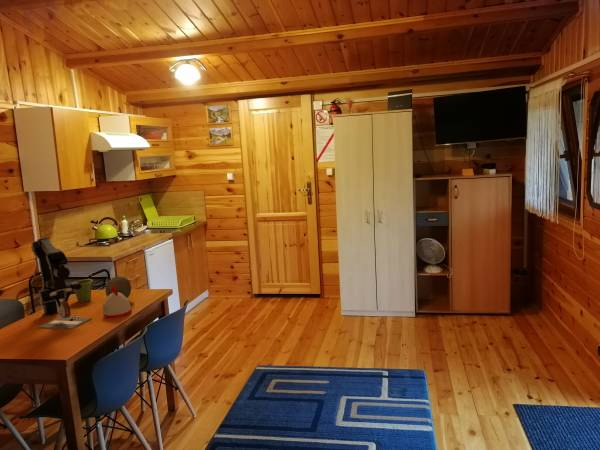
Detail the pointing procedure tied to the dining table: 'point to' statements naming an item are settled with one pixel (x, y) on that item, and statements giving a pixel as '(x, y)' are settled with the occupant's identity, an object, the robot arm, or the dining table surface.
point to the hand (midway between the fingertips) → (62, 305)
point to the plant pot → (84, 290)
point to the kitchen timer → (116, 305)
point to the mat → (65, 323)
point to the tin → (63, 308)
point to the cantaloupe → (119, 286)
